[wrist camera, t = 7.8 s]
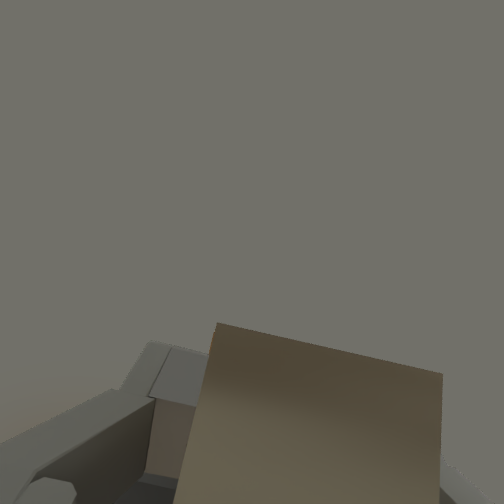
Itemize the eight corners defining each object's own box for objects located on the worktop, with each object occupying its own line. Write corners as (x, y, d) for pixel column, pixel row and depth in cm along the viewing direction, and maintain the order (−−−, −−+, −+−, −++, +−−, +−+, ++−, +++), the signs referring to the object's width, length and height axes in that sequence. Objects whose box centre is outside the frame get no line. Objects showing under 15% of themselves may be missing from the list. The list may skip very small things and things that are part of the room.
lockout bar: (516, 697, 3) (503, 265, 5) (61, 598, 3) (187, 192, 5) (262, 418, 24) (275, 353, 26) (199, 404, 24) (215, 339, 26)
